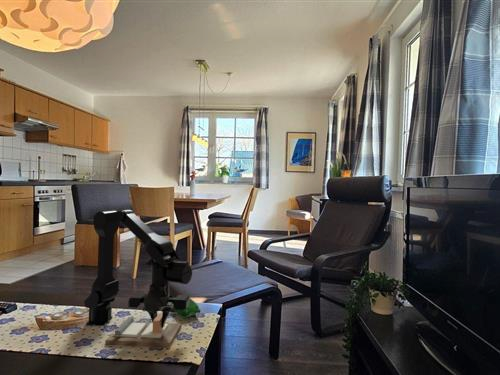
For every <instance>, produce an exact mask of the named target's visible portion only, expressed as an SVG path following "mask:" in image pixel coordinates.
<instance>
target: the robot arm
mask: <svg viewBox="0 0 500 375" xmlns="http://www.w3.org/2000/svg"><path fill="white" fill-rule="evenodd" d="M120 223H122V225H124V226H125V227H126V228H127V229H128V230H129V231H130V232H131V233H132V234H133V235H134V236H135V237H136V238H137V239H138V240H139V241H140V242H141V243H142V244H143V246H144V250H145V252H146V253H147V255H148V256H149V257H150V259H149V260H148V261H147V262H146V263H145V264H146V266H151V276H150V277H151V278H150V279H151V281H150V284H149V289H148V292H147V293H144V292H135V293H134V294H133V295H132V296H131V297H130V298H129V300H128V303H127V304H128V305H127V307H128V308H132V309H133V308H134V309H135V308H138V307H140V306H141V304H143V308H142V311H146V312H147V313H148V315H149V317H150V318H151V320H150V321H151V322H152V323H153V320H154V319H155V318H156V316H157V315H158V312H159V311H160V310H161V313H163V314H162V323H161V328H163V327H164V324H165V323H167V322H166V321H167V319H168V317H169V315H170V312H172V311H174V310H173V308H175V309H176V310H185V309H186V308H187V307H188V305H189V304H190V299H191V298H190V296H189V294H178V295H177V296H175V297H170V294H171V292H170V284H171V283H176V284H181V285H188V283H190V281H191V280H192V277H193V270H192V266H190V265H189V264H190V263H189V261H180V260H181V259H180V257H179V255H178V254H177V252H176V250H175V248H174V244H173V243H172V241H171V240H169V239H168V238H166V237H164V236H162V235H159V234H157V233H156V232H154V231H153V230H152V229H151V228H150V227H149V225H147V224H146V223H145V222H144V221H143V220H141V219H140V218H139V216H137V215H136V214H135V212H134V211H133V210H131V209H121V210H119V211H118V210H101V211H97V212H96V213H95V214H94V215H93V228H94V231H95V233H96V234H97V236H98V246H97V247H98V250H97V251H98V252H97V272H96V273H97V276H96V279H95V280H94V281H93V284H92V285H91V291H90V295H89V296H88V297H87V298H86V299H84V301H83V303H84V308H86V309H88V321H87V322H86V323H85V325H86V326H99V327H100V326H103V327H104V326H105V325H106V324H107V323H109V322H110V321H111V320H112V319H113V316H112V315H113V314H112V310H113V308H112V307H111V303H113V302H115V300H116V297H117V296H118V293H119V291H120V289H119V285H120V281H119V280H118V279H116V278H115V276H114V256H115V254H114V251H115V246H114V245H115V234H117V232H118V230H119V228H120Z"/></svg>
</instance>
